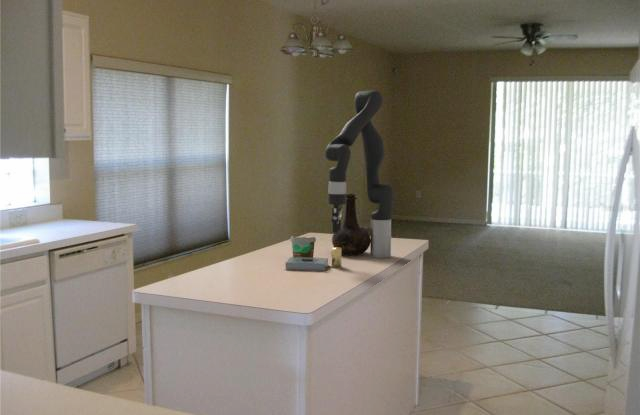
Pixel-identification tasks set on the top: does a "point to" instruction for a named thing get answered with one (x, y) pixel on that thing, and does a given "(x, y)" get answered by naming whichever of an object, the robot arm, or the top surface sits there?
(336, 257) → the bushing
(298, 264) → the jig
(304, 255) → the food container
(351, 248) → the glass bottle
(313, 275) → the top surface
